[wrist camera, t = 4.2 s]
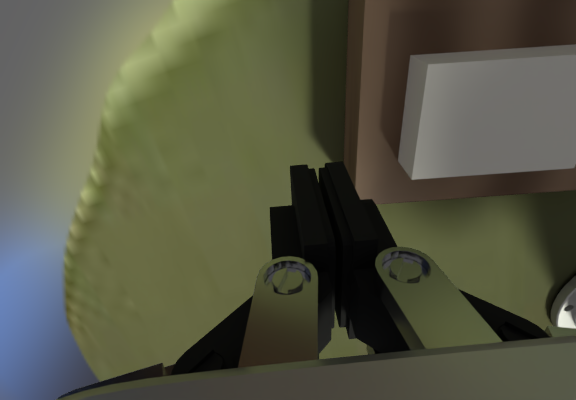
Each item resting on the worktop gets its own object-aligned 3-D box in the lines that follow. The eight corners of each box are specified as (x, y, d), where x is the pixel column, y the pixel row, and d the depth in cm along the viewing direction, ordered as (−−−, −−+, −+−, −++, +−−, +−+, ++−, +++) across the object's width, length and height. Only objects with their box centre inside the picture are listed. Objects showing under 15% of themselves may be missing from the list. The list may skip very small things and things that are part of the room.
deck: (695, -33, 21) (781, -36, 17) (608, 158, 27) (658, 184, 23) (348, -11, 20) (365, -9, 17) (343, 177, 26) (354, 205, 23)
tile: (582, 44, 19) (621, 51, 17) (545, 150, 22) (574, 168, 20) (410, 55, 18) (428, 64, 16) (397, 161, 22) (411, 179, 20)
